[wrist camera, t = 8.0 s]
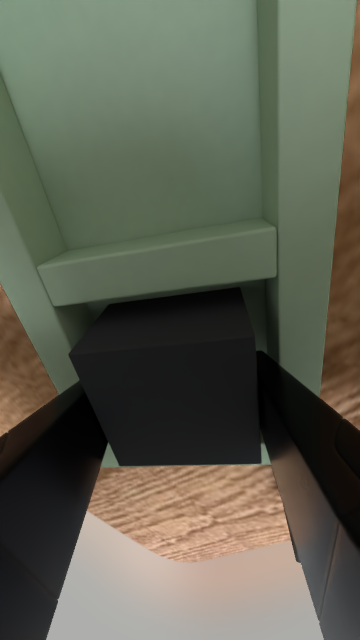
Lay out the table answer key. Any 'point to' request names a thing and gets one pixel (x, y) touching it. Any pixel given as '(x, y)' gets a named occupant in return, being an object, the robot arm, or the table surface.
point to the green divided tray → (172, 164)
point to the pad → (174, 379)
